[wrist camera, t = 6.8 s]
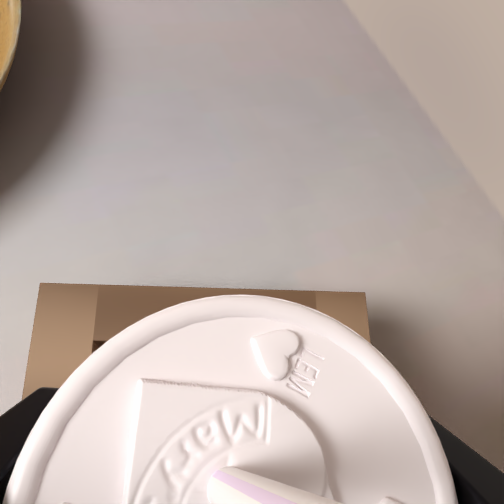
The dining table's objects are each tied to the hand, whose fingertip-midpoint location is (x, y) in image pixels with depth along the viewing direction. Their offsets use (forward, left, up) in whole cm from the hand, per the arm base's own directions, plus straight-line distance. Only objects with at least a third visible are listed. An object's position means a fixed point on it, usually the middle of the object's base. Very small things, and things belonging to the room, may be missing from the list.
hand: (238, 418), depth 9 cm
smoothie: (-1, +1, -8) cm, 8 cm away
